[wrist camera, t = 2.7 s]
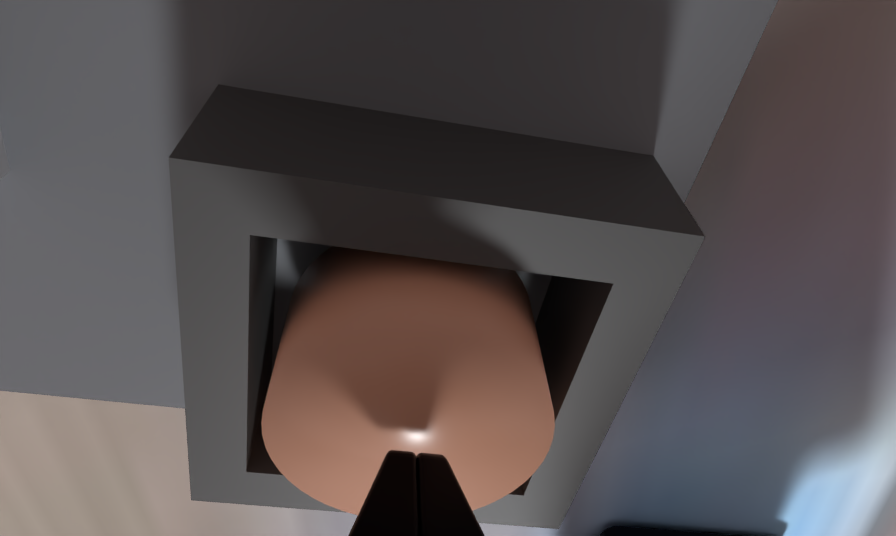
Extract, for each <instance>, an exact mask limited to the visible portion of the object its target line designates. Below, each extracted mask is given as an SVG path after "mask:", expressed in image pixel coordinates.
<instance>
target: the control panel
mask: <svg viewBox="0 0 896 536" xmlns="http://www.w3.org/2000/svg"><path fill="white" fill-rule="evenodd" d="M777 2H778V0H0V391H10V392H20V393H31V394H41V395H51V396H62V397H72V398H82V399H93V400H103V401H113V402H124V403H134V404H144V405H155V406H165V407H175V408H185V414H186V429H187V444H188V459H189V474H190V489H191V500H195V501H208V502H220V503H233V504H246V505H259V506H272V507H284V508H297V509H310V510H323V511H335V512H345V511H341V510H339V509H336V508H334V507H331V506H328V505H326V504H324V503H322V502H320V501H318V500H316V499H314V498H312V497H310V496H309V495H307V494H306V493H304V492H302V491H301V490H299V489H298V488H297V487H296V486H294V485H293V484H292V483H291V482H290V481H288V480H287V479H286V477H285V476H284V475H283V474H282V473H281V472H280V471H279V470H278V469H277V467H276V466H275V464H274V463H273V461H272V460H271V458H270V456H269V454H268V452H267V450H266V448H265V444H264V440H263V436H262V425H261V421H262V414H263V408H264V404H265V400H266V396H267V392H268V388H269V384H270V380H271V376H272V372H273V368H274V364H275V360H276V356H277V352H278V348H279V344H280V340H281V336H282V332H283V328H284V324H285V320H286V316H287V313H288V309H289V305H290V301H291V298H292V295H293V292H294V289H295V287H296V285H297V283H298V281H299V279H300V277H301V276H302V274H303V273H304V272H305V270H306V269H307V268H308V267H309V265H310V264H311V263H312V262H313V261H314V260H315V259H316V258H317V257H319V256H320V255H321V254H322V253H324V252H325V251H326V250H328V249H329V248H330V247H332V246H336V247H344V248H351V249H359V250H366V251H374V252H381V253H389V254H396V255H404V256H411V257H419V258H426V259H433V260H441V261H448V262H456V263H463V264H471V265H478V266H486V267H493V268H501V269H508V270H515V271H516V273H517V274H518V276H519V277H520V279H521V280H522V282H523V284H524V286H525V288H526V291H527V293H528V296H529V300H530V304H531V308H532V313H533V317H534V322H535V327H536V331H537V336H538V340H539V345H540V350H541V354H542V359H543V364H544V368H545V373H546V377H547V382H548V387H549V391H550V396H551V401H552V405H553V410H554V418H555V429H554V436H553V440H552V443H551V446H550V449H549V451H548V453H547V455H546V457H545V459H544V461H543V462H542V464H541V465H540V466H539V468H538V469H537V470H536V471H535V473H534V474H533V475H532V476H531V477H530V478H529V479H528V480H527V481H526V482H524V483H523V484H522V485H520V486H519V487H518V488H517V489H515V490H514V491H512V492H511V493H509V494H508V495H506V496H504V497H503V498H501V499H499V500H497V501H495V502H493V503H491V504H489V505H486V506H484V507H481V508H478V509H476V510H473V513H474V515H475V517H476V519H477V521H478V523H489V524H502V525H514V526H527V527H540V528H553V529H559V527H560V525H561V523H562V521H563V519H564V517H565V515H566V513H567V511H568V509H569V507H570V506H571V504H572V502H573V500H574V498H575V496H576V494H577V492H578V490H579V488H580V486H581V484H582V482H583V480H584V478H585V476H586V474H587V472H588V470H589V468H590V466H591V464H592V462H593V460H594V458H595V456H596V454H597V452H598V450H599V448H600V446H601V444H602V442H603V440H604V438H605V436H606V434H607V432H608V430H609V428H610V426H611V424H612V422H613V420H614V418H615V416H616V414H617V412H618V410H619V408H620V406H621V404H622V402H623V400H624V398H625V396H626V394H627V392H628V390H629V388H630V386H631V384H632V382H633V380H634V378H635V376H636V374H637V372H638V370H639V368H640V366H641V364H642V362H643V360H644V358H645V356H646V354H647V352H648V350H649V348H650V346H651V344H652V342H653V340H654V338H655V336H656V334H657V332H658V330H659V328H660V326H661V324H662V322H663V320H664V318H665V316H666V314H667V312H668V310H669V308H670V306H671V304H672V302H673V300H674V298H675V296H676V294H677V292H678V290H679V288H680V286H681V284H682V282H683V280H684V278H685V276H686V274H687V272H688V270H689V268H690V266H691V264H692V262H693V260H694V258H695V256H696V254H697V252H698V250H699V248H700V246H701V244H702V242H703V240H704V238H705V236H704V234H703V232H702V231H701V229H700V228H699V226H698V225H697V223H696V221H695V220H694V218H693V217H692V215H691V214H690V212H689V211H688V209H687V207H686V206H685V204H684V203H685V201H686V198H687V196H688V194H689V192H690V190H691V188H692V185H693V183H694V181H695V179H696V177H697V175H698V172H699V170H700V168H701V166H702V164H703V162H704V159H705V157H706V155H707V153H708V151H709V149H710V147H711V144H712V142H713V140H714V138H715V136H716V134H717V131H718V129H719V127H720V125H721V123H722V121H723V118H724V116H725V114H726V112H727V110H728V108H729V105H730V103H731V101H732V99H733V97H734V95H735V92H736V90H737V88H738V86H739V84H740V82H741V79H742V77H743V75H744V73H745V71H746V69H747V66H748V64H749V62H750V60H751V58H752V56H753V54H754V51H755V49H756V47H757V45H758V43H759V41H760V38H761V36H762V34H763V32H764V30H765V28H766V25H767V23H768V21H769V19H770V17H771V15H772V12H773V10H774V8H775V6H776V4H777Z"/></svg>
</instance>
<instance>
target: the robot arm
mask: <svg viewBox="0 0 896 536" xmlns="http://www.w3.org/2000/svg"><path fill="white" fill-rule="evenodd" d="M349 536H484V534H483V532H482V530H481V527H480V525H479V523H478V521H477V519H476V517H475V515H474V513H473V511H472V509H471V507H470V505H469V503H468V501H467V499H466V497H465V495H464V493H463V491H462V489H461V486H460V484H459V482H458V480H457V478H456V476H455V474H454V472H453V470H452V468H451V466H450V464H449V462H448V460H447V459H446V457H445V456H443V455H441V454H432V453H419V454H417V456H416V455H415V453H413V452H410V451H399V450H390V451H388V452H387V454H386V456H385V458H384V460H383V462H382V464H381V466H380V469H379V471H378V473H377V475H376V477H375V479H374V482H373V484H372V486H371V488H370V490H369V492H368V495H367V497H366V499H365V501H364V503H363V505H362V508H361V510H360V512H359V514H358V516H357V518H356V521H355V523H354V525H353V527H352V529H351V531H350V533H349ZM600 536H737V535H724V534H712V533H699V532H686V531H674V530H661V529H649V528H636V527H624V526H614V527H610V528H607V529H605V530H604V531H603V532H602V533H601V534H600Z"/></svg>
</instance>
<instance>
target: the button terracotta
mask: <svg viewBox="0 0 896 536" xmlns="http://www.w3.org/2000/svg"><path fill="white" fill-rule="evenodd" d="M261 425H262V436H263V440H264V444H265V448H266V450H267V452H268V454H269V456H270V458H271V460H272V461H273V463H274V464H275V466H276V467H277V469H278V470H279V471H280V472H281V473H282V474H283V475H284V476H285V477H286V479H287V480H288V481H290V482H291V483H292V484H293V485H294V486H296V487H297V488H298V489H299V490H301V491H302V492H304V493H306V494H307V495H309V496H310V497H312V498H314V499H316V500H318V501H320V502H322V503H324V504H326V505H328V506H331V507H334V508H336V509H339V510H341V511H345V512H348V513H352V514H355V515H358V514H359V512H360V510H361V508H362V505H363V503H364V501H365V499H366V497H367V495H368V492H369V490H370V488H371V486H372V484H373V482H374V479H375V477H376V475H377V473H378V471H379V469H380V466H381V464H382V462H383V460H384V458H385V456H386V454H387V452H388V451H390V450H399V451H410V452H413V453H415V455H416V456H417V454H419V453H432V454H441V455H443V456H445V457H446V459H447V460H448V462H449V464H450V466H451V468H452V470H453V472H454V474H455V476H456V478H457V480H458V482H459V484H460V486H461V489H462V491H463V493H464V495H465V497H466V499H467V501H468V503H469V505H470V507H471V509H472V511H473V510H476V509H478V508H481V507H484V506H486V505H489V504H491V503H493V502H495V501H497V500H499V499H501V498H503V497H504V496H506V495H508V494H509V493H511V492H512V491H514V490H515V489H517V488H518V487H519V486H520V485H522V484H523V483H524V482H526V481H527V480H528V479H529V478H530V477H531V476H532V475H533V474H534V473H535V471H536V470H537V469H538V468H539V466H540V465H541V464H542V462H543V461H544V459H545V457H546V455H547V453H548V451H549V449H550V446H551V443H552V440H553V436H554V429H555V418H554V410H553V405H552V401H551V396H550V391H549V387H548V382H547V377H546V373H545V368H544V364H543V359H542V354H541V350H540V345H539V340H538V336H537V331H536V327H535V322H534V317H533V313H532V308H531V304H530V300H529V296H528V293H527V291H526V288H525V286H524V284H523V282H522V280H521V279H520V277H519V276H518V274H517V273H516V271H515V270H508V269H501V268H493V267H486V266H478V265H471V264H463V263H456V262H448V261H441V260H433V259H426V258H419V257H411V256H404V255H396V254H389V253H381V252H374V251H366V250H359V249H351V248H344V247H336V246H332V247H330V248H329V249H328V250H326V251H325V252H324V253H322V254H321V255H320V256H319V257H317V258H316V259H315V260H314V261H313V262H312V263H311V264H310V265H309V267H308V268H307V269H306V270H305V272H304V273H303V274H302V276H301V277H300V279H299V281H298V283H297V285H296V287H295V289H294V292H293V295H292V298H291V301H290V305H289V309H288V313H287V316H286V320H285V324H284V328H283V332H282V336H281V340H280V344H279V348H278V352H277V356H276V360H275V364H274V368H273V372H272V376H271V380H270V384H269V388H268V392H267V396H266V400H265V404H264V408H263V414H262V421H261Z"/></svg>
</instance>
